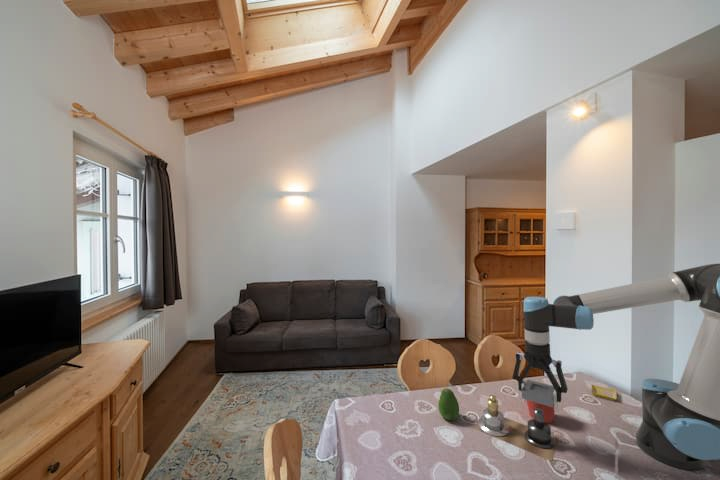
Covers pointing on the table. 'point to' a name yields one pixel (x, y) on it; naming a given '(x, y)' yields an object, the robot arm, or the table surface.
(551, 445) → the stand
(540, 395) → the grey slotted housing
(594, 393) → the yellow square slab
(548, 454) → the board
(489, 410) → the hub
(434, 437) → the table surface
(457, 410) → the fruit
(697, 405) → the robot arm
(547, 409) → the flower pot
